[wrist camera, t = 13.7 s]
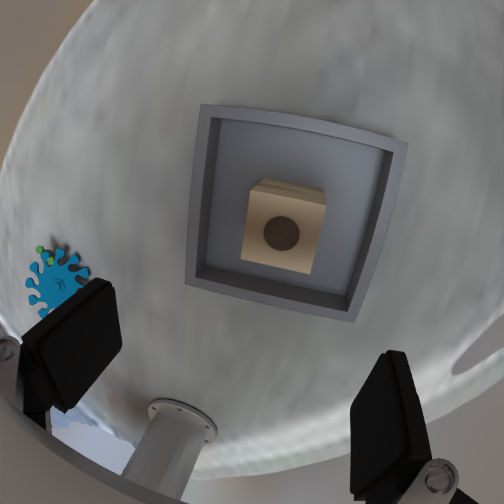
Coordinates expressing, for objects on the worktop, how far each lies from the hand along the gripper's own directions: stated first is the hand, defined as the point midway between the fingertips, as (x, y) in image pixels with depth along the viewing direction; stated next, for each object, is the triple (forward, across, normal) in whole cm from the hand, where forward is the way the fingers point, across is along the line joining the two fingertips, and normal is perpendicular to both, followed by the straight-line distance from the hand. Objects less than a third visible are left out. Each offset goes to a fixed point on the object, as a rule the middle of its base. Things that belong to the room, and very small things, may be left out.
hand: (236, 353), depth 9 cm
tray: (+18, 0, 0) cm, 18 cm away
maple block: (+18, 0, 0) cm, 18 cm away
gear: (+19, +27, +13) cm, 36 cm away
